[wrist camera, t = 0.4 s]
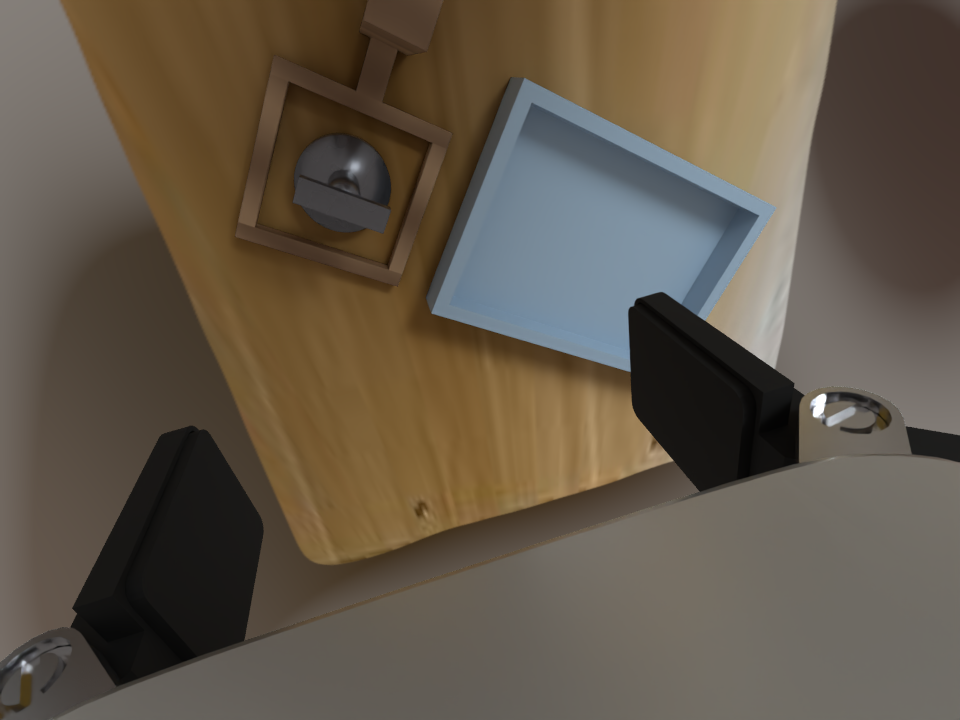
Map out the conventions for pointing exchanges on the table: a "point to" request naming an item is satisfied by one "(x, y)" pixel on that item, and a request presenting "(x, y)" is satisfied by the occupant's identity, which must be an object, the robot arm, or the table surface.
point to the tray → (585, 230)
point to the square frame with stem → (391, 27)
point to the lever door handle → (343, 184)
